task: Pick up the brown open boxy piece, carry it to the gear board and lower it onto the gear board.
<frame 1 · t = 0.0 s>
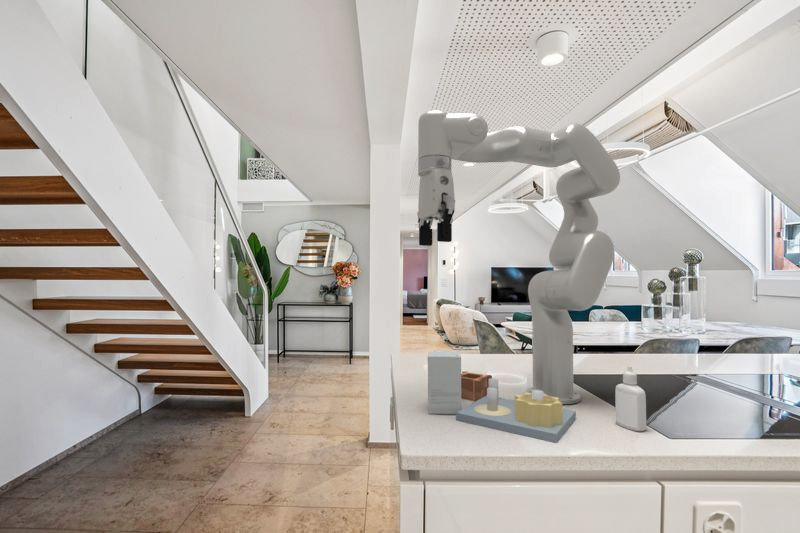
hand: (434, 243, 90), 37 cm above the counter, tool pointing down, fingers open, 9 cm apart
supplement box: (444, 410, 90), on the counter
gear board: (516, 419, 84), on the counter
brown open boxy piece: (471, 396, 101), on the counter
eye dropper bottle: (630, 428, 80), on the counter
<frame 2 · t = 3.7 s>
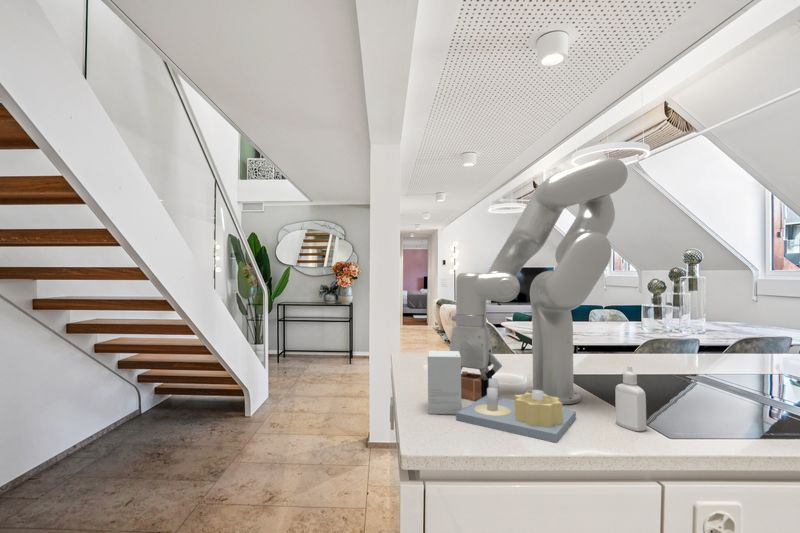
hand: (471, 392, 101), 1 cm above the counter, tool pointing down, fingers closed on brown open boxy piece, 6 cm apart
brown open boxy piece: (471, 396, 101), on the counter, touching gripper
everything else where it was.
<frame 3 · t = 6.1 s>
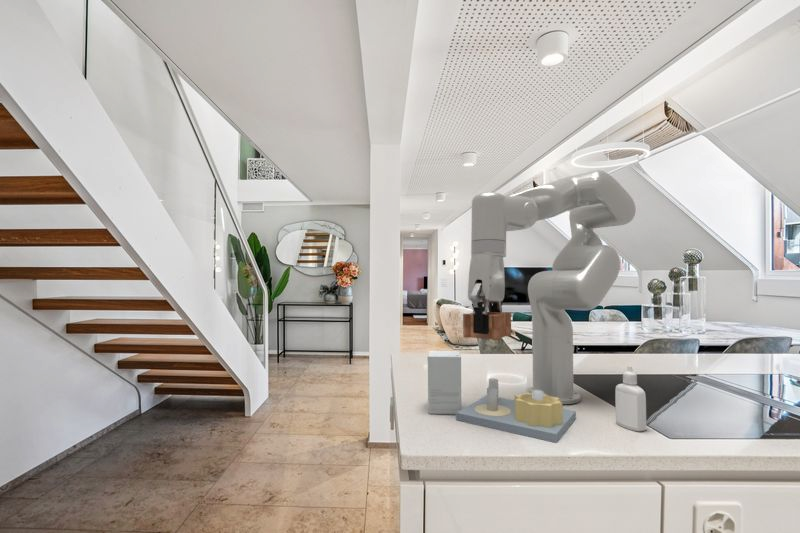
hand: (487, 331, 87), 18 cm above the counter, tool pointing down, fingers closed on brown open boxy piece, 6 cm apart
brown open boxy piece: (487, 336, 87), point 17 cm above the counter, touching gripper
everything else where it was.
when the fingers open (4 cm above the counter, at t = 8.6 s): brown open boxy piece drops 1 cm, resting on gear board.
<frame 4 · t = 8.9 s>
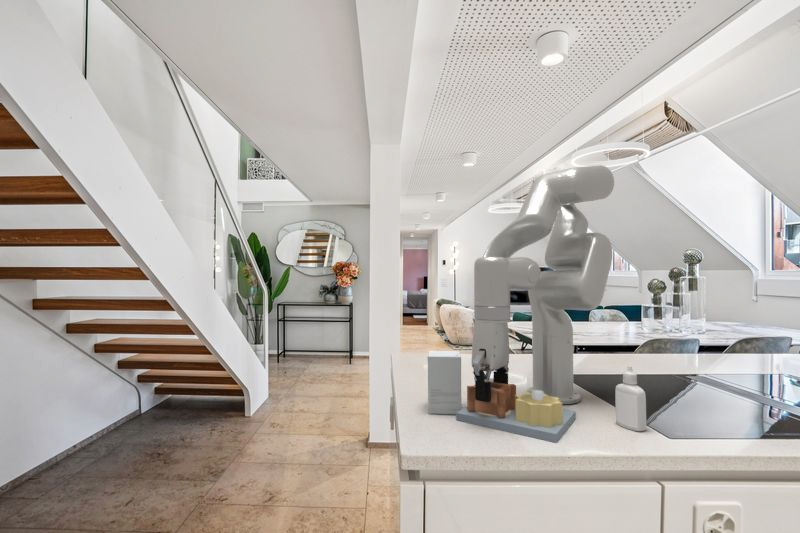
hand: (492, 395, 85), 5 cm above the counter, tool pointing down, fingers open, 9 cm apart
brown open boxy piece: (491, 409, 85), point 2 cm above the counter, touching gear board
everything else where it was.
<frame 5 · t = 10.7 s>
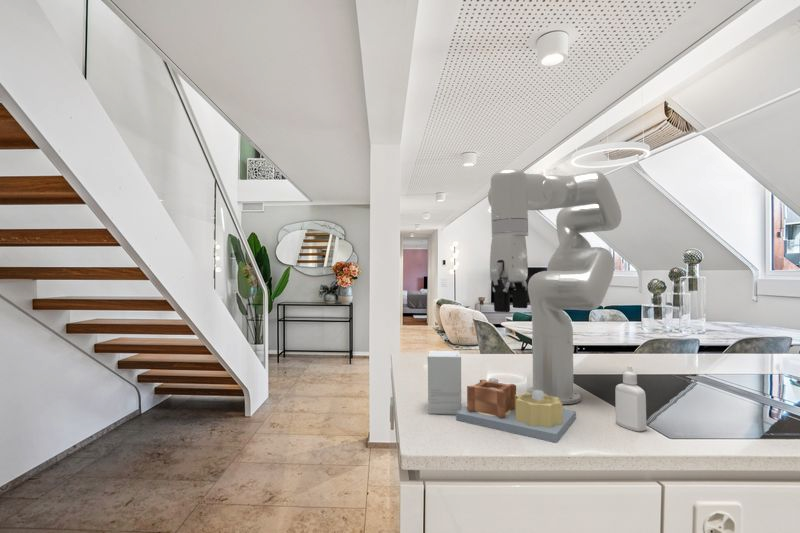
hand: (511, 309, 85), 23 cm above the counter, tool pointing down, fingers open, 9 cm apart
nothing on the counter moved.
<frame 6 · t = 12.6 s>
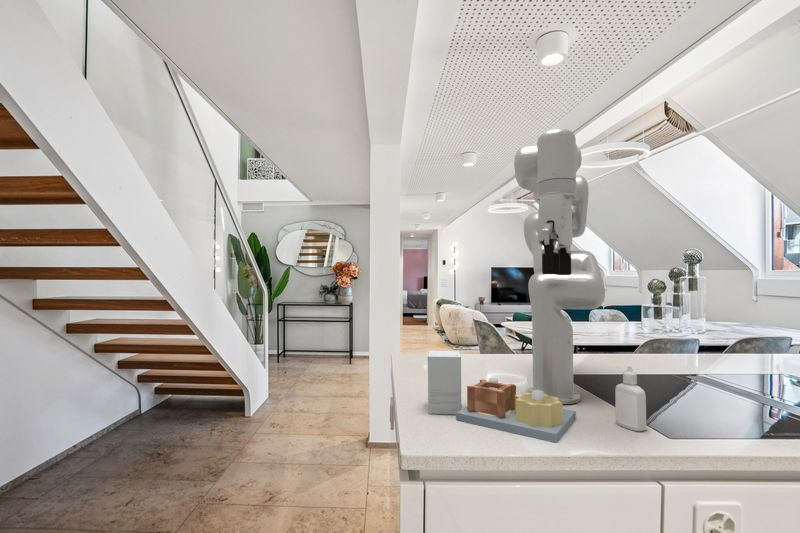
hand: (557, 274, 82), 30 cm above the counter, tool pointing down, fingers open, 9 cm apart
nothing on the counter moved.
at the end: brown open boxy piece 0.1 cm from the target spot on the gear board, point 1.6 cm above the gear board's base; brown open boxy piece tilted 0°; the gripper is holding nothing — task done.
